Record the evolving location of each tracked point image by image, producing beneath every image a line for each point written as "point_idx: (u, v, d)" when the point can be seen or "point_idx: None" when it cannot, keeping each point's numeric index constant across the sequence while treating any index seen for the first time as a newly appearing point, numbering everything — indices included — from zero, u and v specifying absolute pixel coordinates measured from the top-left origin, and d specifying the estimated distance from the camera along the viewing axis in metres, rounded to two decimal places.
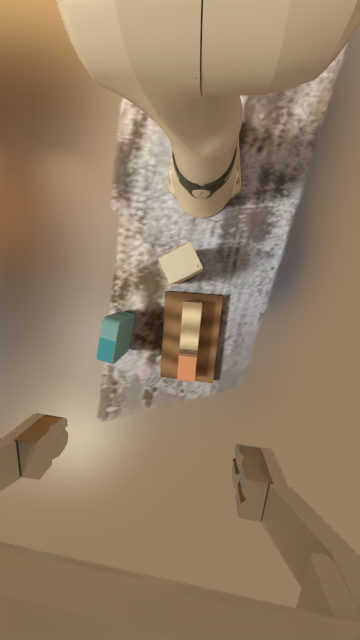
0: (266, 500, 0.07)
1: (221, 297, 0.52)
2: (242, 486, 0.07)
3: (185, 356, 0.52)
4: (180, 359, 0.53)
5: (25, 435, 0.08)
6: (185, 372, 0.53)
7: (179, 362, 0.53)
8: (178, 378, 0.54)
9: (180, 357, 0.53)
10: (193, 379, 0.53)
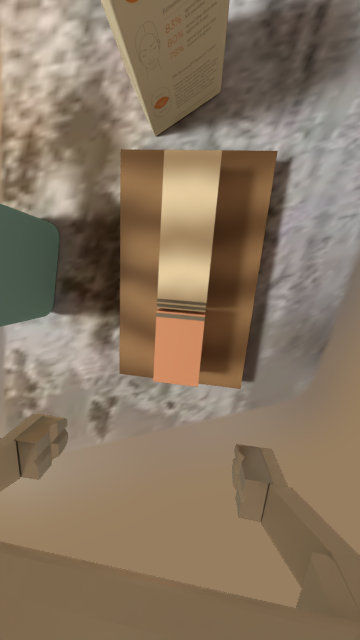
0: (266, 500, 0.07)
1: (272, 155, 0.19)
2: (242, 486, 0.07)
3: (174, 318, 0.19)
4: (160, 327, 0.20)
5: (25, 436, 0.08)
6: (173, 361, 0.20)
7: (158, 336, 0.20)
8: (156, 378, 0.21)
9: (160, 322, 0.20)
10: (195, 380, 0.21)
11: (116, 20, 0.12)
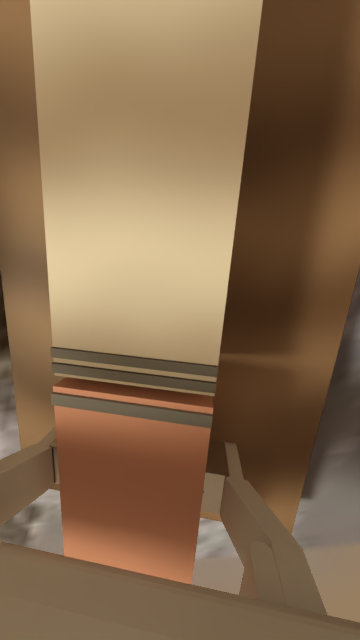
0: (223, 493, 0.07)
1: None
2: None
3: (111, 413, 0.06)
4: (71, 437, 0.06)
5: None
6: (115, 528, 0.07)
7: (66, 459, 0.06)
8: None
9: (69, 421, 0.06)
10: (182, 582, 0.07)
11: None
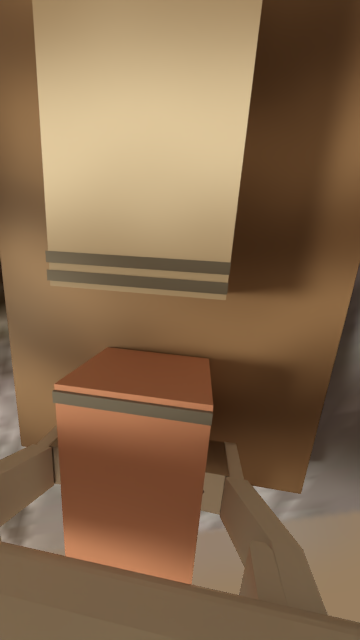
0: (223, 493, 0.07)
1: None
2: None
3: (112, 411, 0.06)
4: (72, 434, 0.06)
5: None
6: (116, 525, 0.07)
7: (67, 456, 0.07)
8: None
9: (70, 419, 0.06)
10: (182, 579, 0.07)
11: None
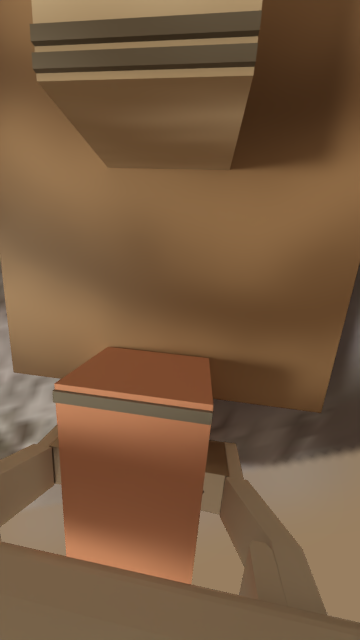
0: (223, 493, 0.07)
1: None
2: None
3: (112, 410, 0.06)
4: (72, 434, 0.06)
5: None
6: (116, 524, 0.07)
7: (68, 456, 0.07)
8: None
9: (70, 418, 0.06)
10: (182, 577, 0.07)
11: None
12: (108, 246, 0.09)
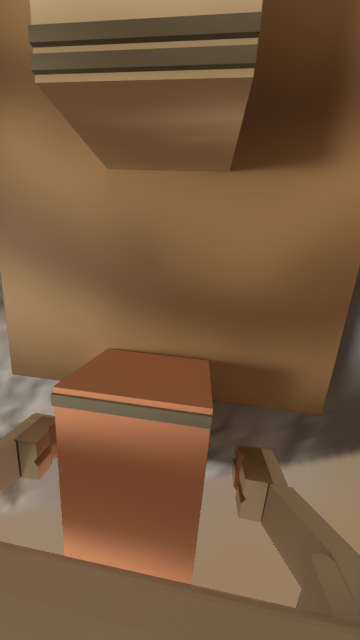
0: (266, 500, 0.07)
1: None
2: (242, 486, 0.07)
3: (111, 414, 0.06)
4: (71, 437, 0.06)
5: (25, 435, 0.08)
6: (115, 528, 0.07)
7: (66, 459, 0.06)
8: None
9: (69, 422, 0.06)
10: None
11: None
12: (107, 248, 0.09)
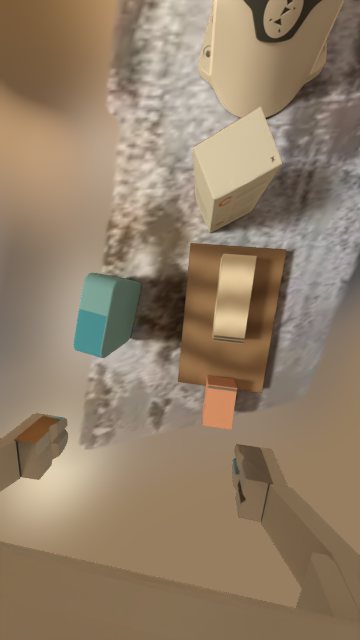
0: (266, 500, 0.07)
1: (283, 251, 0.32)
2: (242, 486, 0.07)
3: (219, 389, 0.33)
4: (209, 394, 0.33)
5: (25, 436, 0.08)
6: (216, 413, 0.34)
7: (208, 398, 0.33)
8: (205, 423, 0.34)
9: (210, 391, 0.33)
10: (229, 425, 0.34)
11: (212, 210, 0.25)
12: (210, 351, 0.36)
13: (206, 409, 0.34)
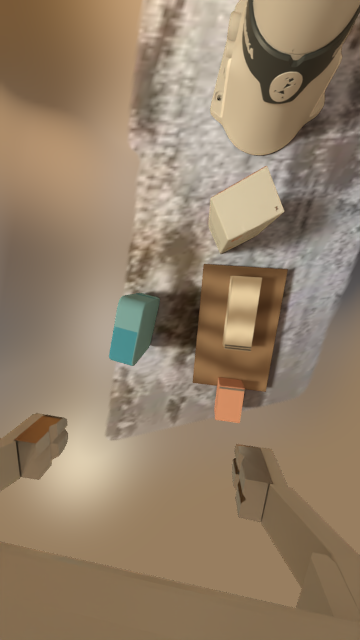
0: (266, 501, 0.07)
1: (285, 271, 0.36)
2: (242, 486, 0.07)
3: (229, 389, 0.38)
4: (221, 393, 0.39)
5: (25, 436, 0.08)
6: (226, 410, 0.40)
7: (219, 397, 0.39)
8: (217, 418, 0.40)
9: (221, 391, 0.39)
10: (238, 420, 0.40)
11: (225, 244, 0.29)
12: (220, 356, 0.41)
13: (218, 406, 0.40)
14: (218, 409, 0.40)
